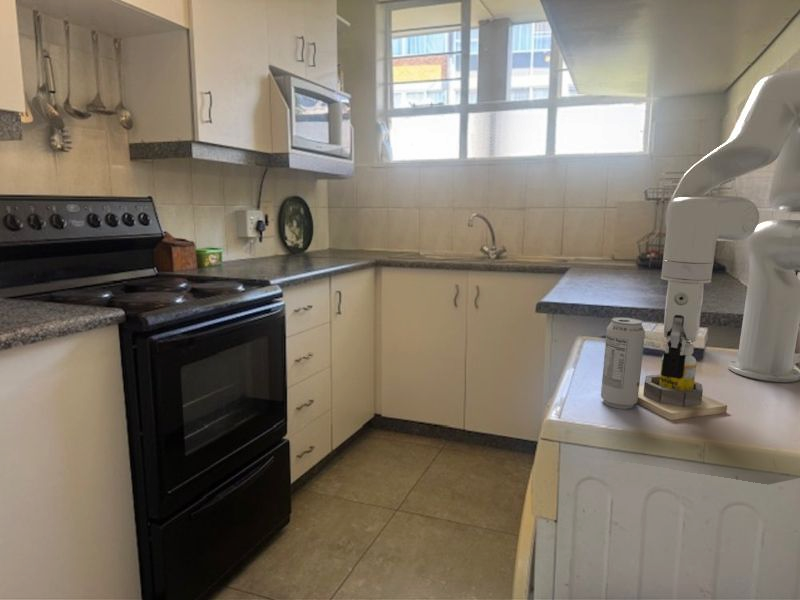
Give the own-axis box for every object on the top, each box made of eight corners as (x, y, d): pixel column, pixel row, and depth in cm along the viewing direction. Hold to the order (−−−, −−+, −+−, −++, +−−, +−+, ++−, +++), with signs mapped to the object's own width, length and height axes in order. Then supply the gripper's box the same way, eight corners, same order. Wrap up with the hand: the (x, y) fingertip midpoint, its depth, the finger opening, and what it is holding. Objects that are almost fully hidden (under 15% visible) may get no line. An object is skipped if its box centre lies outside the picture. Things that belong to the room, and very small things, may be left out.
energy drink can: (644, 409, 93) (653, 324, 90) (611, 410, 92) (620, 324, 89) (624, 396, 99) (633, 315, 96) (593, 397, 98) (601, 316, 95)
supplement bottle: (699, 400, 94) (706, 346, 92) (676, 404, 92) (683, 349, 90) (673, 389, 99) (679, 338, 97) (651, 393, 97) (657, 341, 95)
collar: (671, 388, 103) (673, 369, 103) (726, 412, 92) (729, 391, 91) (619, 394, 100) (621, 375, 99) (670, 420, 88) (672, 398, 88)
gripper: (709, 280, 82) (695, 388, 85) (714, 268, 97) (702, 360, 100) (655, 275, 86) (644, 378, 89) (667, 264, 101) (657, 353, 104)
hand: (674, 369), depth 95 cm, fingers open, 9 cm apart
